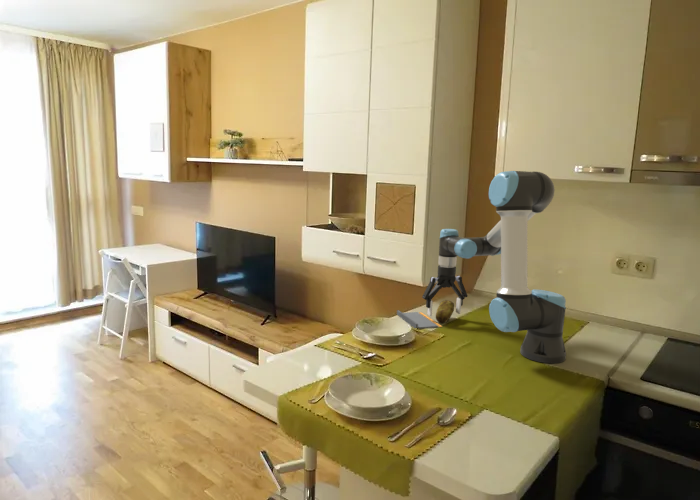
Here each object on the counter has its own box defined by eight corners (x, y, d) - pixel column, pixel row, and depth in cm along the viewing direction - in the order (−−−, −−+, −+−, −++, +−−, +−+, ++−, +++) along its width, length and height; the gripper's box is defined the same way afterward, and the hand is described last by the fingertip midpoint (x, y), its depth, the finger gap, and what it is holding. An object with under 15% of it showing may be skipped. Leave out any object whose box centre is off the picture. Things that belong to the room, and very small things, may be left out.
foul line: (442, 326, 211) (442, 326, 211) (439, 327, 210) (439, 326, 210) (421, 312, 230) (421, 312, 229) (419, 313, 229) (419, 312, 229)
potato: (427, 321, 217) (428, 303, 216) (442, 315, 227) (444, 297, 226) (444, 325, 212) (446, 307, 211) (459, 319, 222) (461, 301, 221)
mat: (437, 327, 210) (437, 322, 210) (415, 329, 207) (416, 324, 207) (417, 313, 229) (417, 308, 229) (396, 314, 226) (397, 310, 226)
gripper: (468, 262, 223) (465, 309, 227) (416, 264, 215) (413, 313, 219) (477, 266, 216) (474, 314, 220) (423, 268, 208) (421, 318, 212)
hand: (443, 314), depth 220 cm, fingers open, 13 cm apart
